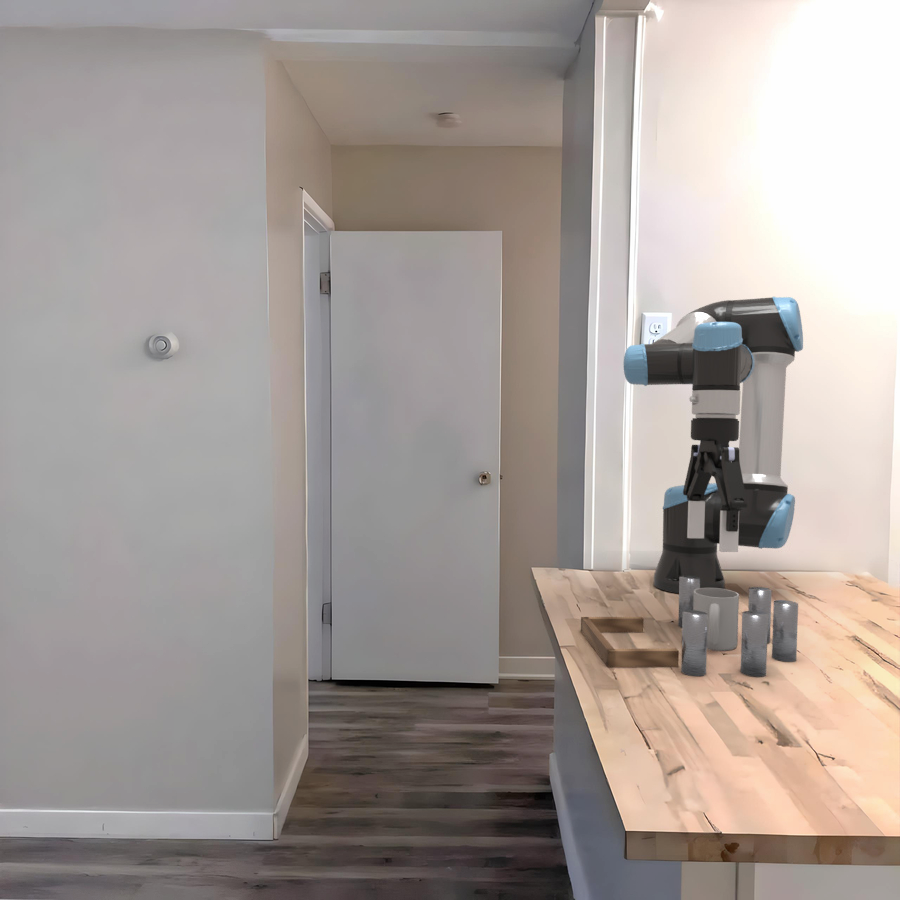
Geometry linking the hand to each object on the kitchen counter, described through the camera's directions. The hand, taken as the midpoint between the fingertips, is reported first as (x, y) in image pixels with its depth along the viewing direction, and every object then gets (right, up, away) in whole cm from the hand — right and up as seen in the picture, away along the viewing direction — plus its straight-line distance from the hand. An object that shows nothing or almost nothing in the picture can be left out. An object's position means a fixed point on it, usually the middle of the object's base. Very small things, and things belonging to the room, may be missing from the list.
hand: (711, 544), depth 126 cm
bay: (-14, -17, 0) cm, 22 cm away
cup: (+1, -18, +1) cm, 18 cm away
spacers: (+1, -17, +1) cm, 17 cm away
